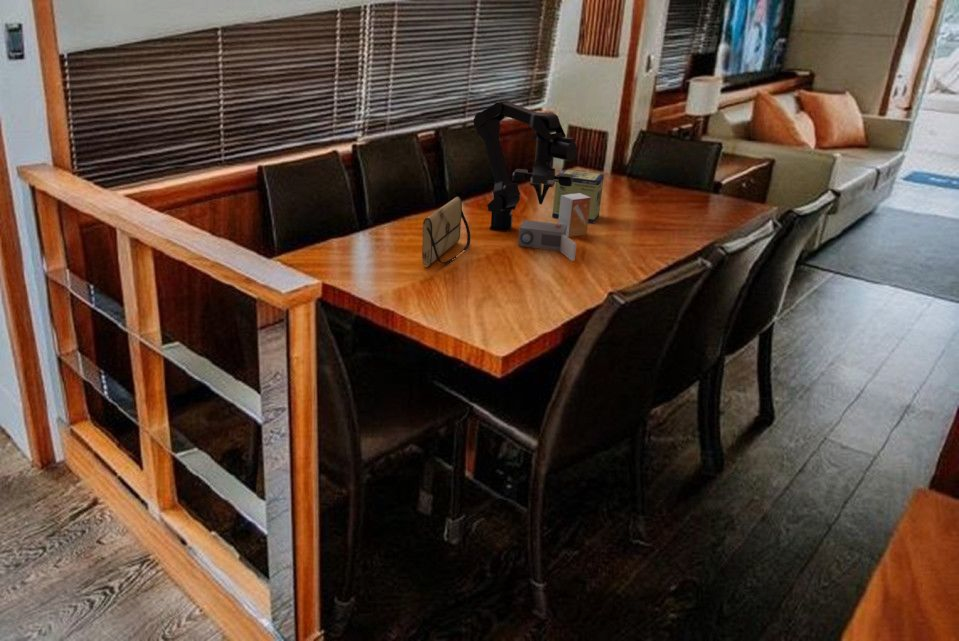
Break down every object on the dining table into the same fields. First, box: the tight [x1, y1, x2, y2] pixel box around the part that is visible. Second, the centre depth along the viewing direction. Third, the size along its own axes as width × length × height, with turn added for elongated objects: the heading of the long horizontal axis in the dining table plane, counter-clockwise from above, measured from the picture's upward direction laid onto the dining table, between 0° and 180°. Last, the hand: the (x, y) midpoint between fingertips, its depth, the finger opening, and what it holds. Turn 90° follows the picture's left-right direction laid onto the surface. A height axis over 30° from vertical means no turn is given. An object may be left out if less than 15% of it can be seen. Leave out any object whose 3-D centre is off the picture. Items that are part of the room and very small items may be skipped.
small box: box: [557, 193, 591, 238], centre depth 264 cm, size 8×6×13 cm
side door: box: [559, 234, 577, 262], centre depth 243 cm, size 10×1×6 cm, turn 18°
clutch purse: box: [421, 196, 471, 267], centre depth 237 cm, size 30×7×15 cm, turn 162°
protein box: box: [551, 169, 605, 224], centre depth 282 cm, size 10×16×16 cm
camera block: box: [517, 219, 567, 252], centre depth 252 cm, size 14×10×7 cm
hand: (540, 204), depth 253 cm, fingers closed
